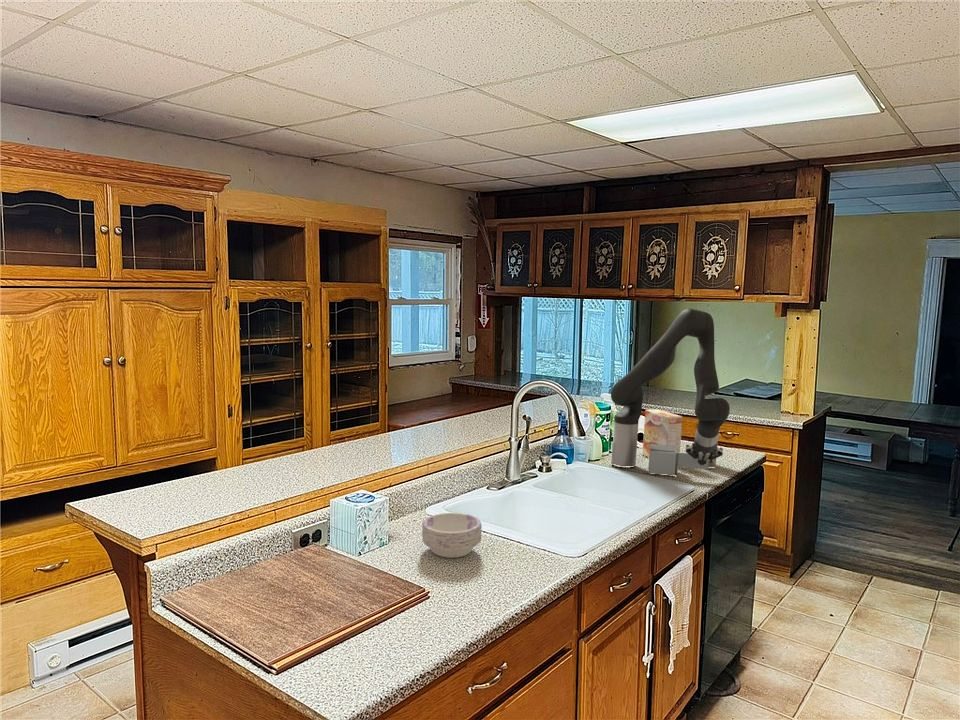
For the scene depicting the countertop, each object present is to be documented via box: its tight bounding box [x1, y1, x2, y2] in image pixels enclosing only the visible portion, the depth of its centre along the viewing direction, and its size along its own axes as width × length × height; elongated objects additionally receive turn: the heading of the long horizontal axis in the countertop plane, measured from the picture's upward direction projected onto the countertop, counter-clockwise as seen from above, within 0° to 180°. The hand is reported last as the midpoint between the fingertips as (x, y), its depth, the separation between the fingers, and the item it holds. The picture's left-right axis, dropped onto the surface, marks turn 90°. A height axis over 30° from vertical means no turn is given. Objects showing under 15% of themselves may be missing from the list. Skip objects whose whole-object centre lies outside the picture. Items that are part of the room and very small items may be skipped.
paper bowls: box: [421, 512, 483, 559], centre depth 172 cm, size 15×15×8 cm
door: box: [648, 450, 709, 477], centre depth 246 cm, size 21×1×9 cm, turn 75°
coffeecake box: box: [642, 408, 683, 457], centre depth 271 cm, size 15×7×20 cm, turn 25°
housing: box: [648, 444, 675, 466], centre depth 253 cm, size 9×9×10 cm
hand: (701, 462), depth 241 cm, fingers closed
